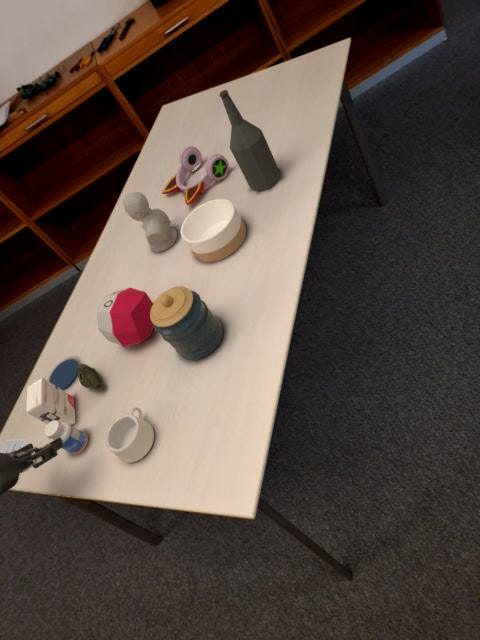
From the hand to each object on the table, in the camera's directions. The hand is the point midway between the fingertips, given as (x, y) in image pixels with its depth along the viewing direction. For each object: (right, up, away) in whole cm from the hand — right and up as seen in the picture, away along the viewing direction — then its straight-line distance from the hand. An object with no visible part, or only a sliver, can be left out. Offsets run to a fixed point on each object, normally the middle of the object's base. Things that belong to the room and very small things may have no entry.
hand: (46, 444), depth 99 cm
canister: (+34, +23, +12) cm, 42 cm away
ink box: (-2, +3, +17) cm, 18 cm away
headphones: (+28, +75, +56) cm, 98 cm away
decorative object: (+16, +25, +24) cm, 38 cm away
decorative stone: (+5, +11, +20) cm, 23 cm away
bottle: (+51, +71, +40) cm, 96 cm away
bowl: (+37, +51, +32) cm, 71 cm away
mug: (+20, +1, +3) cm, 20 cm away
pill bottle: (+4, -2, +9) cm, 10 cm away
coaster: (-7, +12, +27) cm, 30 cm away
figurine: (+19, +53, +44) cm, 72 cm away
